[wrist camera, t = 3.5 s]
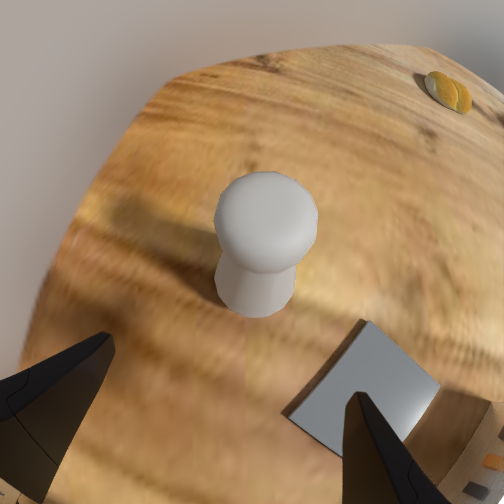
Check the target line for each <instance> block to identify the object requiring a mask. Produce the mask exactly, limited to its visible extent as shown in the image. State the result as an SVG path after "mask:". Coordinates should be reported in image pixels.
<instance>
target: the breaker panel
mask: <svg viewBox="0 0 504 504" xmlns="http://www.w3.org/2000/svg"><path fill="white" fill-rule="evenodd" d="M437 488H438V489H439V491H440V492H441V493H442V494H443V495H444V496H445V497H446V498H447V499H448V500H449V501H450V502H451V503H452V504H504V402H491V404H490V406H489V408H488V410H487V412H486V413H485V415H484V417H483V419H482V421H481V422H480V424H479V426H478V428H477V429H476V431H475V433H474V434H473V436H472V438H471V439H470V441H469V443H468V444H467V446H466V447H465V449H464V450H463V452H462V453H461V455H460V456H459V458H458V459H457V461H456V462H455V464H454V465H453V466H452V468H451V469H450V471H449V472H448V473H447V475H446V476H445V477H444V478H443V480H442V481H441V482H440V484H439V485H438V486H437Z"/></svg>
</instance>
